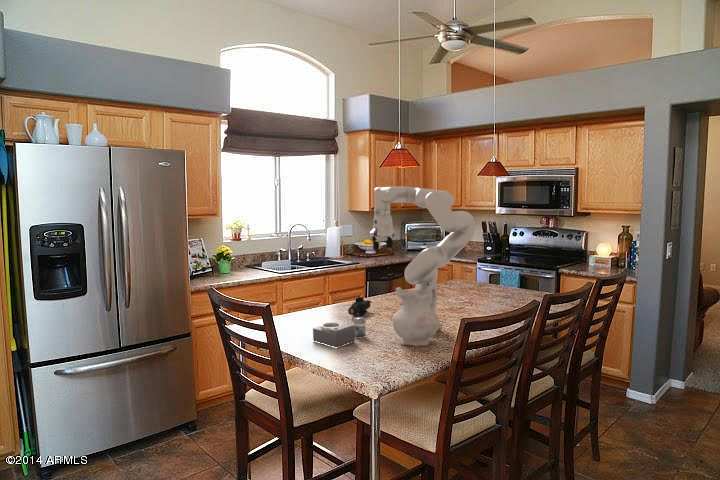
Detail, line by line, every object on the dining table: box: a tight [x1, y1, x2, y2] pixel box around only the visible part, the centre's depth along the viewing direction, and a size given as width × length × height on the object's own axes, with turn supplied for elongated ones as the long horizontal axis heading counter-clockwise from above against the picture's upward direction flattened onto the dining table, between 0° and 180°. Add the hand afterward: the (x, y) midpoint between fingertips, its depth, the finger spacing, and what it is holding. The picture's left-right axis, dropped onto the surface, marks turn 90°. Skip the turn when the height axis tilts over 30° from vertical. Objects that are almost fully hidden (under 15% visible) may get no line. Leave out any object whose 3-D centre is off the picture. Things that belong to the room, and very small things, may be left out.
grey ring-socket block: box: [312, 321, 356, 347], centre depth 209 cm, size 14×11×8 cm
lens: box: [352, 316, 367, 338], centre depth 217 cm, size 6×6×8 cm
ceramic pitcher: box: [392, 282, 440, 347], centre depth 207 cm, size 22×20×25 cm
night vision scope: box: [347, 296, 372, 317], centre depth 254 cm, size 8×18×10 cm
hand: (382, 248), depth 237 cm, fingers open, 9 cm apart
